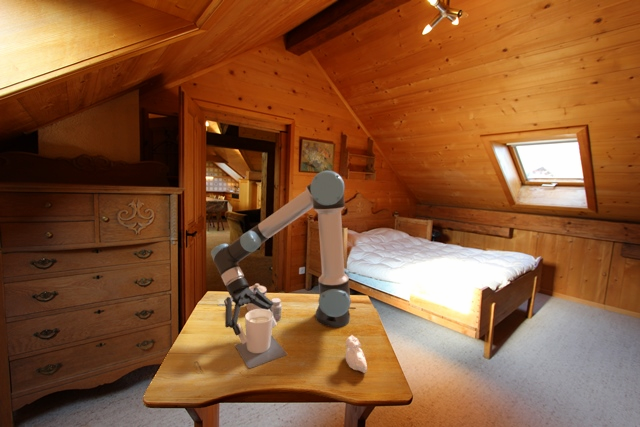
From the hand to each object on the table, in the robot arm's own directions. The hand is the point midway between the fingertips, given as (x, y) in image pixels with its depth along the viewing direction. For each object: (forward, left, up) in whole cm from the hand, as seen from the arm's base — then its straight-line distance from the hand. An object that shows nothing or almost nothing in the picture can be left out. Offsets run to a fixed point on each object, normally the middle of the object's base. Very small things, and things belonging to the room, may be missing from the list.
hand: (260, 334), depth 99 cm
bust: (-24, +24, -6) cm, 34 cm away
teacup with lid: (-9, -29, -6) cm, 31 cm away
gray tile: (0, +1, -6) cm, 6 cm away
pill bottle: (-14, -16, -6) cm, 22 cm away
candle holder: (0, -1, -6) cm, 6 cm away
